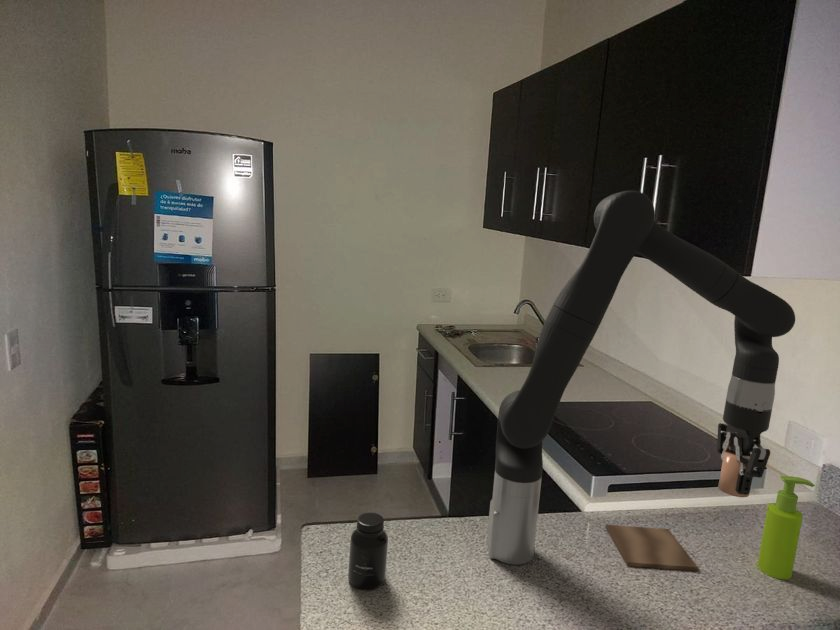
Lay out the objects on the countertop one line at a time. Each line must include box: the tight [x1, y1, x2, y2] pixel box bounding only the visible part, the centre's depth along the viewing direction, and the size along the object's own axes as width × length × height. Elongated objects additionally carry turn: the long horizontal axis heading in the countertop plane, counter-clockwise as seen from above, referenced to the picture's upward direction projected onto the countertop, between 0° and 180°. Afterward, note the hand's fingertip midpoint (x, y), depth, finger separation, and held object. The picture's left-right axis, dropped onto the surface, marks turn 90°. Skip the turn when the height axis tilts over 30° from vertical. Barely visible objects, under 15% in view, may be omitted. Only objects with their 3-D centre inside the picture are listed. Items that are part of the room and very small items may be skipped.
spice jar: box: [717, 451, 750, 498], centre depth 105 cm, size 5×5×7 cm
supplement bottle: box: [347, 512, 389, 591], centre depth 99 cm, size 7×7×12 cm
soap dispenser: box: [757, 475, 816, 580], centre depth 109 cm, size 6×7×20 cm
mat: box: [605, 524, 699, 572], centre depth 116 cm, size 14×14×1 cm
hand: (734, 485), depth 105 cm, fingers closed on spice jar, 5 cm apart
